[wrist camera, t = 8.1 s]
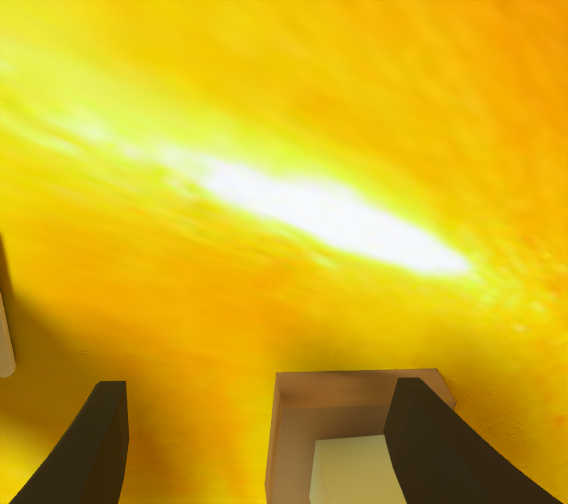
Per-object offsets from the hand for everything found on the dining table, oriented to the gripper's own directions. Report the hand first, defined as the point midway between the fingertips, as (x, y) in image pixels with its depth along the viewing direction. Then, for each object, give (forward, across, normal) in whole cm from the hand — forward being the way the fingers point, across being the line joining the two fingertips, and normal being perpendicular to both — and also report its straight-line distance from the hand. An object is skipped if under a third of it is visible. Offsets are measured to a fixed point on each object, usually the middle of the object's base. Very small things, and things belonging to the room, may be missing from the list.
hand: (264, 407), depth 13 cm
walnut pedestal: (+10, -7, +12) cm, 17 cm away
